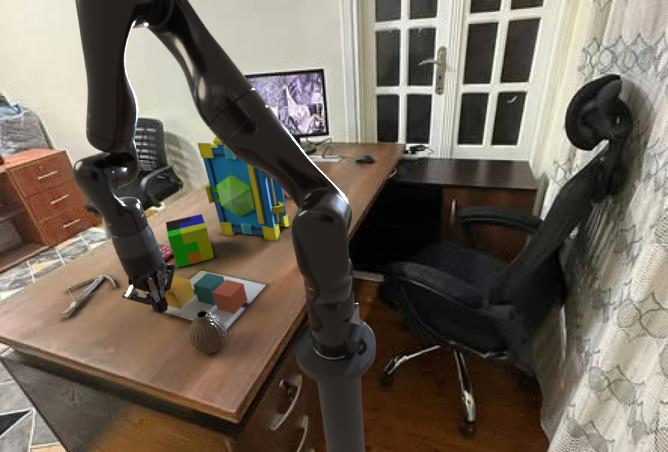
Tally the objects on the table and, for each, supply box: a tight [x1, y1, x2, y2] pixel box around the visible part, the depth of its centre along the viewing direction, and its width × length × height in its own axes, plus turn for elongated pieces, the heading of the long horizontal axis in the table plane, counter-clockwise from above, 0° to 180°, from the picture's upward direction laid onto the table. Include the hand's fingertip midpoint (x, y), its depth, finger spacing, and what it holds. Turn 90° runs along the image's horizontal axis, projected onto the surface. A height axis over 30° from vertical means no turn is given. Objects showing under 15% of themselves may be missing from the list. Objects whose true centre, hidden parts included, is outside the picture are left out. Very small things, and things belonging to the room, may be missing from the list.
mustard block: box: [165, 275, 195, 309], centre depth 84 cm, size 5×5×5 cm
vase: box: [189, 310, 228, 355], centre depth 70 cm, size 7×7×9 cm
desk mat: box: [164, 270, 267, 331], centre depth 86 cm, size 21×16×1 cm
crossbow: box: [61, 274, 117, 318], centre depth 90 cm, size 16×13×2 cm
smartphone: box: [157, 243, 174, 262], centre depth 106 cm, size 7×1×15 cm
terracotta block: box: [212, 280, 247, 314], centre depth 81 cm, size 5×5×5 cm
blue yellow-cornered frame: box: [197, 136, 290, 242], centre depth 107 cm, size 14×23×30 cm, turn 70°
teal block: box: [193, 272, 225, 305], centre depth 84 cm, size 5×5×5 cm
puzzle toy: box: [165, 213, 215, 269], centre depth 101 cm, size 10×10×10 cm
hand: (162, 310), depth 80 cm, fingers closed
